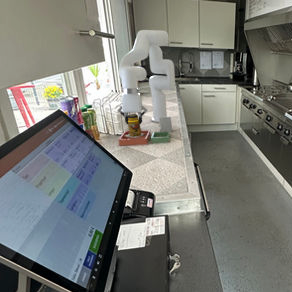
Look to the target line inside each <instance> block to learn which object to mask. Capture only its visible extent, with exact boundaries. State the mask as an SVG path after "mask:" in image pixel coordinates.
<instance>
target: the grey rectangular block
mask: <svg viewBox="0 0 292 292" xmlns="http://www.w3.org/2000/svg"><path fill="white" fill-rule="evenodd" d="M171 118H172V117H171V116H167V117H163V118H159V119H160V122H159V130H160V131H159V132H169V133H171V132H173V126H172V119H171Z"/></svg>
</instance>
